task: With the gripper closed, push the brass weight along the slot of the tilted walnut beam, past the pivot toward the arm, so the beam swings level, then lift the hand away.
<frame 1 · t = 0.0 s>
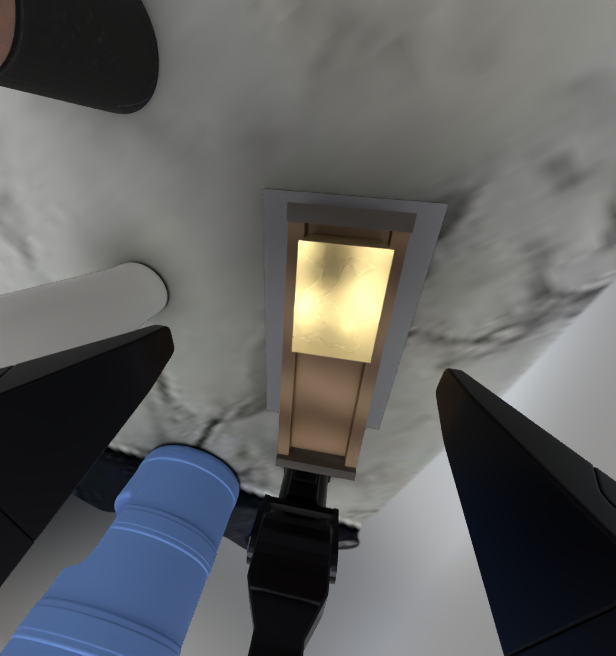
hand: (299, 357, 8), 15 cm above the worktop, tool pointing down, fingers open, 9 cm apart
travel mug: (109, 46, 17), on the worktop
water jug: (195, 472, 42), on the worktop
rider: (340, 282, 18), point 4 cm above the worktop, tilted 6°, touching beam
beam: (329, 363, 20), point 5 cm above the worktop, hinge at 5.6°, touching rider
drinking glass: (146, 286, 26), on the worktop
stand: (333, 330, 25), on the worktop
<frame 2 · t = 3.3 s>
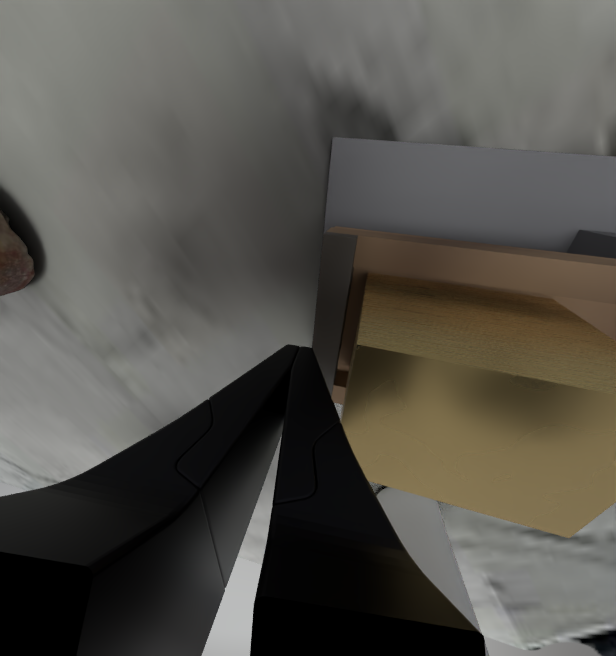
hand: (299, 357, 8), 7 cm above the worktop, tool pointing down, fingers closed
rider: (434, 338, 10), point 4 cm above the worktop, tilted 6°, touching beam, gripper
drinking glass: (404, 496, 23), on the worktop
stand: (541, 311, 13), on the worktop
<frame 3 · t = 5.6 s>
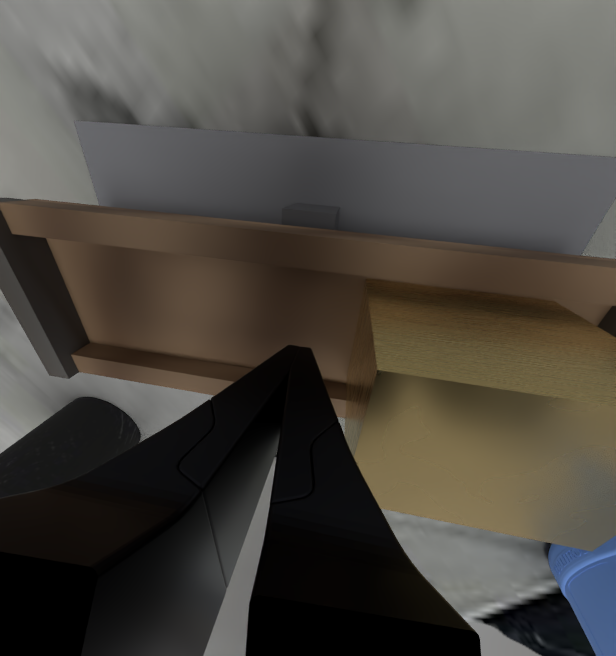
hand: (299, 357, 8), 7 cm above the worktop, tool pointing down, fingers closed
travel mug: (107, 422, 25), on the worktop
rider: (435, 344, 10), point 5 cm above the worktop, touching beam, gripper
beam: (294, 327, 10), point 5 cm above the worktop, hinge at -0.5°, touching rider
drinking glass: (276, 469, 24), on the worktop
stand: (313, 282, 14), on the worktop
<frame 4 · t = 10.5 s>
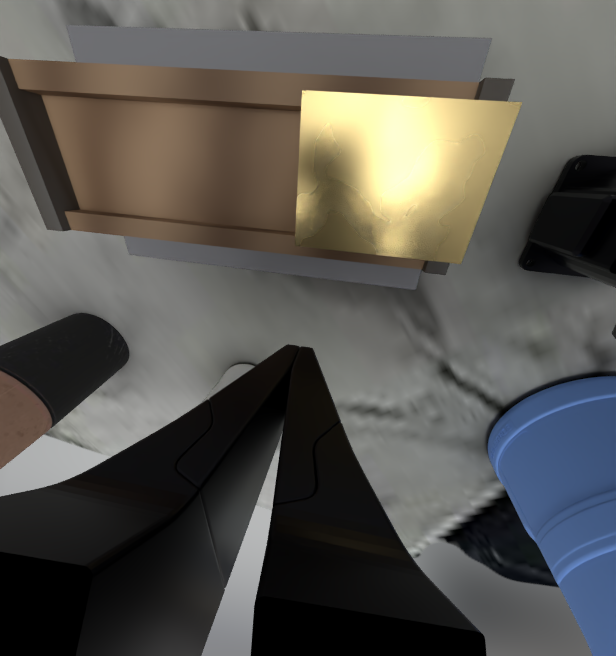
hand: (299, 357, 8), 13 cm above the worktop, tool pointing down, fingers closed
travel mug: (99, 341, 28), on the worktop
water jug: (575, 434, 24), on the worktop
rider: (376, 184, 13), point 5 cm above the worktop, touching beam
beam: (236, 172, 13), point 5 cm above the worktop, hinge at -0.5°, touching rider
drinking glass: (250, 380, 27), on the worktop
stand: (266, 174, 17), on the worktop
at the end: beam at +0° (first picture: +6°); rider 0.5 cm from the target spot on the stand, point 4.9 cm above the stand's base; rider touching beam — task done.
